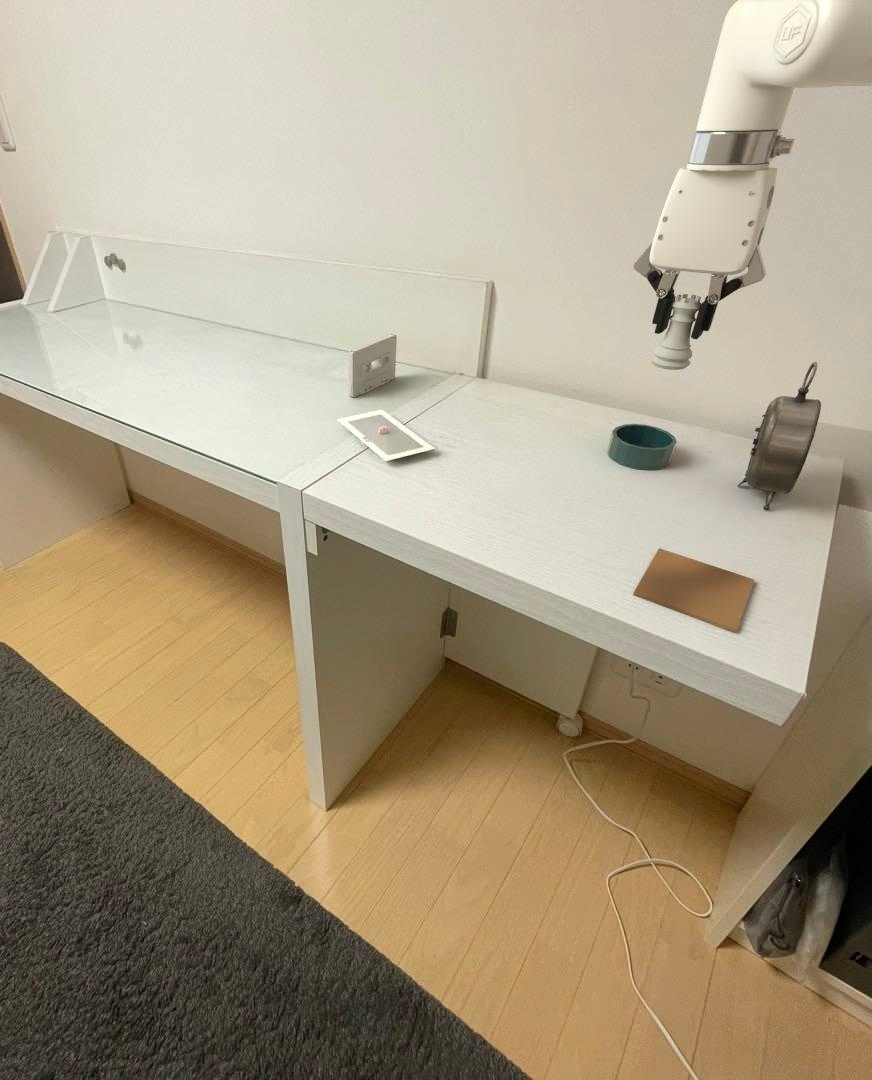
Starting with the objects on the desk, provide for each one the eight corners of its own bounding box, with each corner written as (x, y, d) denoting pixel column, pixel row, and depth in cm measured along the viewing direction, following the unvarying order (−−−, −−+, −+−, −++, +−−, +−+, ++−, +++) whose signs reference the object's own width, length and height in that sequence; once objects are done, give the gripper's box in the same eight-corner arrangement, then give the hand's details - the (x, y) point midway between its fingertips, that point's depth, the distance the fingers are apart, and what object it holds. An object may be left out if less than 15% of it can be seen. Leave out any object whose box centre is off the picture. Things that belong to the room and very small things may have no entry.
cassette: (354, 399, 101) (354, 353, 97) (346, 396, 102) (345, 350, 98) (397, 378, 109) (399, 334, 104) (389, 375, 110) (390, 332, 105)
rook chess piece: (666, 356, 78) (685, 290, 73) (697, 366, 74) (719, 297, 70) (641, 362, 76) (659, 295, 72) (672, 373, 73) (692, 303, 68)
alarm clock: (781, 519, 70) (847, 383, 61) (728, 506, 72) (783, 373, 63) (785, 478, 77) (844, 351, 68) (737, 468, 80) (787, 344, 70)
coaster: (753, 582, 61) (754, 579, 61) (735, 633, 55) (737, 630, 55) (658, 550, 66) (659, 547, 65) (632, 594, 60) (634, 591, 60)
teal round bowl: (676, 453, 84) (682, 433, 82) (660, 476, 79) (667, 455, 77) (617, 438, 88) (622, 419, 86) (599, 459, 83) (604, 439, 81)
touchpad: (381, 416, 96) (382, 403, 94) (434, 455, 84) (435, 441, 83) (336, 426, 93) (336, 412, 92) (385, 468, 82) (385, 453, 81)
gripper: (831, 150, 61) (762, 336, 71) (655, 150, 69) (617, 317, 80) (823, 154, 56) (751, 353, 66) (635, 154, 65) (597, 330, 75)
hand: (678, 332), depth 73 cm, fingers closed on rook chess piece, 3 cm apart
